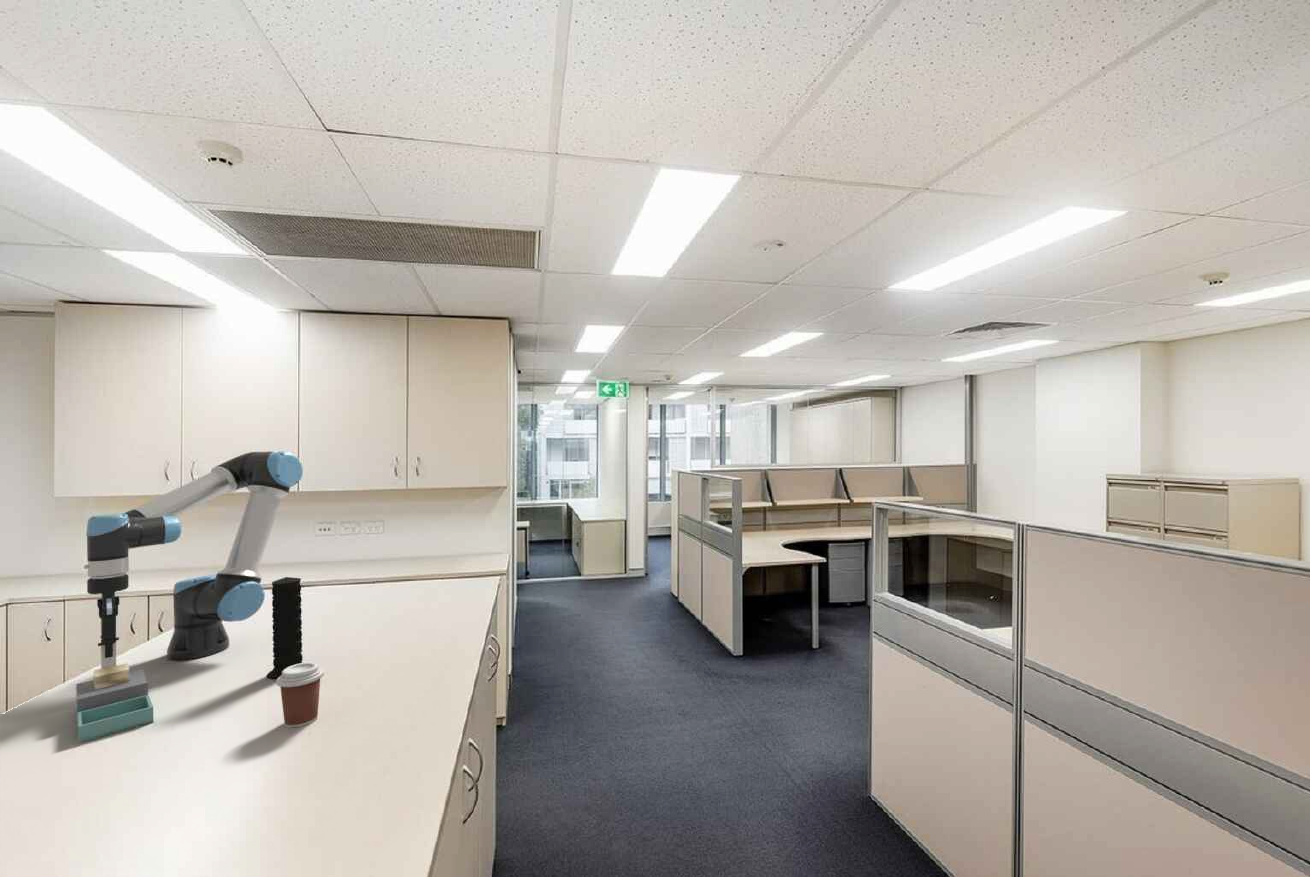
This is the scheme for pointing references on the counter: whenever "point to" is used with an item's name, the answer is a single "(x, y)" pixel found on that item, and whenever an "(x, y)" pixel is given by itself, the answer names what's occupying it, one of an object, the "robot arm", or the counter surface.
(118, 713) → the box
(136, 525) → the robot arm
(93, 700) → the gray rectangular block
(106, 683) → the tile
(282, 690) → the coffee cup
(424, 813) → the counter surface
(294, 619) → the black ridged tower
